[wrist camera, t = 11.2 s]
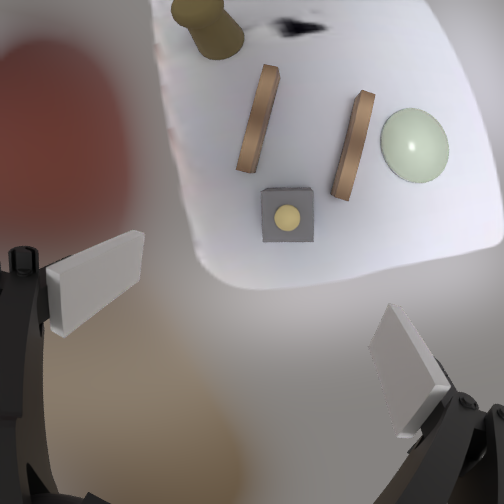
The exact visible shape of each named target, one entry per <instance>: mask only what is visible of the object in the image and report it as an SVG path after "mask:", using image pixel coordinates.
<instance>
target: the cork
mask: <svg viewBox="0 0 504 504" xmlns="http://www.w3.org/2000/svg"><path fill="white" fill-rule="evenodd" d="M171 13H172V16H173V19H174V20H175V21H176V22H177V23H178V24H179V25H180V26H183V27H186V28H188V30H189V32H190V34H191V36H192V38H193V40H194V42H195V44H196V46H197V48H198V50H199V52H200V53H201V54H202V55H203V56H204V57H206V58H208V59H212V60H222V59H226V58H229V57H231V56H233V55H234V54H236V53H237V52H238V51H239V50H240V48H241V47H242V45H243V42H244V33H243V31H242V29H241V28H240V27H239V25H238V24H237V23H236V22H235V21H234V20H233V19H232V17H231V16H230V15H229V14H228V13H227V12H226V11H225V10H224V1H223V0H174V1H173V3H172V6H171Z"/></svg>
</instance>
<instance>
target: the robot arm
mask: <svg viewBox="0 0 504 504" xmlns="http://www.w3.org/2000/svg"><path fill="white" fill-rule="evenodd" d="M144 239H145V233H142V232H139V231H136V230H131V231H129V232H126V233H124V234H122V235H119V236H117V237H114V238H112V239H110V240H107V241H105V242H102V243H100V244H98V245H95V246H93V247H91V248H88V249H86V250H84V251H81V252H79V253H77V254H75V255H70V256H67V257H65V258H62V259H61V260H58V261H56V262H55V263H52V264H49V265H47V266H45V267H43V268H41V269H39V257H38V250H37V249H36V248H33V247H30V246H19V247H14V248H12V249H11V250H10V251H9V252H8V254H9V270H10V272H9V273H8V272H4V271H1V265H0V504H110V503H108V502H106V501H104V500H102V499H101V498H99V497H97V496H95V495H93V494H91V493H90V492H88V493H87V495H86V496H85V498H84V499H83V498H80V497H75V496H71V495H64V494H59V492H58V489H57V486H56V484H55V481H54V479H53V476H52V472H51V468H50V462H49V455H48V448H47V441H46V432H45V421H44V405H43V345H44V323H43V322H44V321H46V320H47V319H49V318H50V327H51V331H53V332H54V333H56V334H58V335H60V336H61V337H63V338H65V337H66V336H68V335H69V334H70V333H71V332H73V331H74V330H75V329H76V328H78V327H79V326H80V325H82V324H83V323H84V322H85V321H86V320H88V319H89V318H90V317H92V316H93V315H94V314H96V313H97V312H98V311H99V310H101V309H102V308H103V307H105V306H106V305H107V304H109V303H110V302H111V301H113V300H114V299H115V298H117V297H118V296H119V295H121V294H122V293H123V292H125V291H126V290H127V289H129V288H130V287H131V286H133V285H134V284H135V283H137V282H138V281H139V280H140V272H141V262H142V254H143V247H144ZM369 350H370V353H371V356H372V359H373V362H374V365H375V368H376V371H377V374H378V378H379V381H380V384H381V387H382V390H383V394H384V397H385V400H386V403H387V407H388V410H389V414H390V417H391V421H392V424H393V427H394V432H395V435H396V437H398V438H412V437H413V436H414V434H415V433H416V432H417V431H418V430H419V429H420V428H421V431H422V434H423V435H422V436H421V437H420V438H419V440H418V441H417V442H416V443H415V444H414V445H413V446H412V447H411V449H410V450H409V451H408V452H407V453H408V454H409V453H410V454H409V455H408V457H407V458H406V460H405V461H404V463H403V464H402V466H401V467H400V469H399V471H397V473H396V474H395V476H394V477H393V479H392V480H391V481H390V483H389V484H388V485H387V487H386V488H385V489H384V491H383V492H382V493H381V494H380V496H379V497H378V498H377V499H376V501H375V502H374V503H373V504H504V406H502V405H500V404H494V405H493V406H492V407H491V409H490V410H489V411H488V413H486V412H483V411H480V410H478V409H479V407H478V404H477V402H476V401H475V400H474V399H473V398H472V397H471V396H470V395H468V394H466V393H463V392H457V390H456V388H455V387H454V385H453V383H452V381H451V380H450V378H449V377H448V375H447V373H446V372H445V371H444V368H443V366H442V365H441V363H440V362H439V361H438V360H437V359H436V358H435V357H434V356H433V355H432V353H431V352H430V350H429V349H428V347H427V346H426V344H425V342H424V341H423V339H422V338H421V336H420V334H419V333H418V331H417V330H416V328H415V327H414V325H413V324H412V322H411V321H410V319H409V318H408V316H407V315H406V313H405V312H404V310H403V309H402V307H401V306H397V305H394V304H390V303H389V304H388V306H387V309H386V311H385V313H384V315H383V318H382V320H381V322H380V324H379V326H378V328H377V330H376V332H375V334H374V336H373V338H372V341H371V343H370V345H369ZM484 454H485V455H484ZM483 455H484V456H483ZM482 456H483V458H482Z"/></svg>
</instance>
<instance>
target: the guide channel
mask: <svg viewBox="0 0 504 504" xmlns="http://www.w3.org/2000/svg"><path fill="white" fill-rule="evenodd" d="M279 81H280V75H279V70H278V67H276V66H271V65H265V64H264V66H263V69H262V73H261V76H260V80H259V83H258V87H257V91H256V94H255V98H254V102H253V105H252V109H251V113H250V117H249V120H248V124H247V128H246V132H245V136H244V140H243V143H242V147H241V151H240V155H239V159H238V163H237V167H236V170H239V171H243V172H247V173H255V172H256V168H257V164H258V160H259V156H260V152H261V149H262V145H263V141H264V137H265V133H266V129H267V126H268V122H269V118H270V114H271V110H272V107H273V103H274V99H275V95H276V92H277V88H278V84H279ZM374 99H375V94H373V93H370V92H367V91H364V90H361V92H360V93H359V94H358V95H357V97H356V98H355V101H354V105H353V110H352V114H351V118H350V122H349V126H348V130H347V134H346V138H345V142H344V146H343V150H342V154H341V158H340V161H339V165H338V169H337V173H336V176H335V180H334V183H333V187H332V191H331V195H333V196H334V197H336V198H339V199H343V200H346V201H349V198H350V194H351V191H352V187H353V184H354V180H355V177H356V173H357V169H358V166H359V162H360V158H361V154H362V150H363V146H364V142H365V138H366V134H367V130H368V126H369V122H370V117H371V113H372V108H373V104H374Z"/></svg>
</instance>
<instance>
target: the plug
mask: <svg viewBox="0 0 504 504" xmlns="http://www.w3.org/2000/svg"><path fill="white" fill-rule="evenodd" d="M261 207H262V234H263V242H313V234H314V222H313V190H312V189H311V188H267V189H265V190H263V191H261Z"/></svg>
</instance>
